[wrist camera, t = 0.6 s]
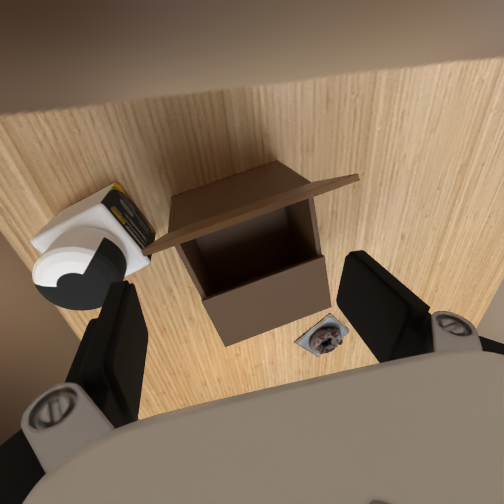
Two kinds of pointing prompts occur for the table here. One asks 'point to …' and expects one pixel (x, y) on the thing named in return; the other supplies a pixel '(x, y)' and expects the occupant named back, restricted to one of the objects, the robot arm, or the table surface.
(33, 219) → the table surface
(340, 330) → the donut
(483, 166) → the table surface
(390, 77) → the table surface
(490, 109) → the table surface
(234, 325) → the carton
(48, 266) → the medicine bottle
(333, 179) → the front flap
